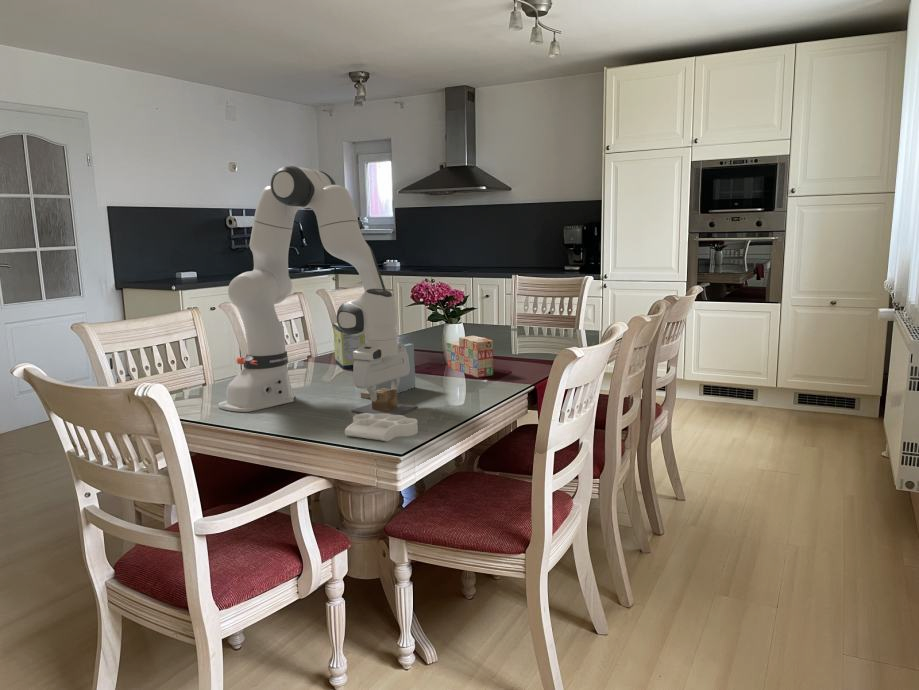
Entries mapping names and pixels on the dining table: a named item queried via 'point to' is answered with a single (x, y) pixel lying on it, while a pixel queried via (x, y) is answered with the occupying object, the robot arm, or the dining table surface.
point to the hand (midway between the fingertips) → (384, 397)
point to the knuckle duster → (381, 426)
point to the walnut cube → (385, 400)
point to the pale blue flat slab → (405, 381)
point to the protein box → (346, 347)
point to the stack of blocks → (471, 356)
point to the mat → (396, 411)
